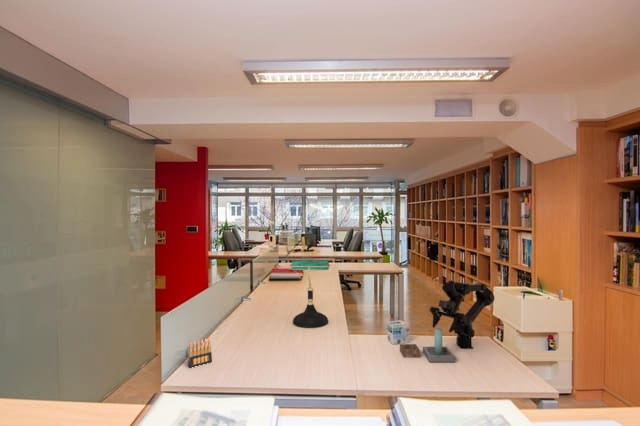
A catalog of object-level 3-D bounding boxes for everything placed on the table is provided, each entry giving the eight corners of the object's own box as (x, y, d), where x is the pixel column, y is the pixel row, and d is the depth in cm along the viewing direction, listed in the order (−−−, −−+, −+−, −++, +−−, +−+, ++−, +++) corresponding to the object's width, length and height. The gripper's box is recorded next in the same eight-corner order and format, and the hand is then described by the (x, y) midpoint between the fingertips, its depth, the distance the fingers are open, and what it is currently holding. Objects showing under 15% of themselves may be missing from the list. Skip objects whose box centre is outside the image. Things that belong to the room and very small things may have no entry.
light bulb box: (392, 345, 187) (392, 324, 187) (387, 340, 193) (386, 321, 193) (410, 342, 190) (410, 323, 190) (404, 338, 196) (404, 319, 196)
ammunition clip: (210, 361, 169) (210, 336, 169) (212, 362, 167) (211, 337, 167) (188, 367, 162) (187, 341, 162) (189, 368, 161) (189, 342, 161)
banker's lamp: (332, 317, 237) (331, 258, 237) (329, 328, 214) (329, 263, 214) (293, 316, 239) (292, 258, 239) (287, 327, 217) (286, 263, 217)
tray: (446, 352, 176) (446, 346, 176) (455, 362, 164) (455, 356, 164) (422, 352, 176) (422, 346, 176) (429, 362, 164) (429, 356, 164)
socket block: (415, 350, 179) (415, 344, 179) (419, 357, 171) (419, 350, 171) (400, 351, 179) (399, 344, 179) (403, 357, 171) (403, 350, 171)
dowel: (439, 354, 173) (439, 328, 173) (443, 357, 169) (443, 330, 169) (433, 355, 171) (433, 329, 171) (437, 358, 168) (437, 331, 168)
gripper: (431, 290, 182) (418, 315, 176) (464, 297, 168) (451, 325, 161) (440, 303, 187) (427, 328, 181) (473, 310, 172) (461, 338, 166)
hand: (441, 329), depth 172 cm, fingers open, 9 cm apart
